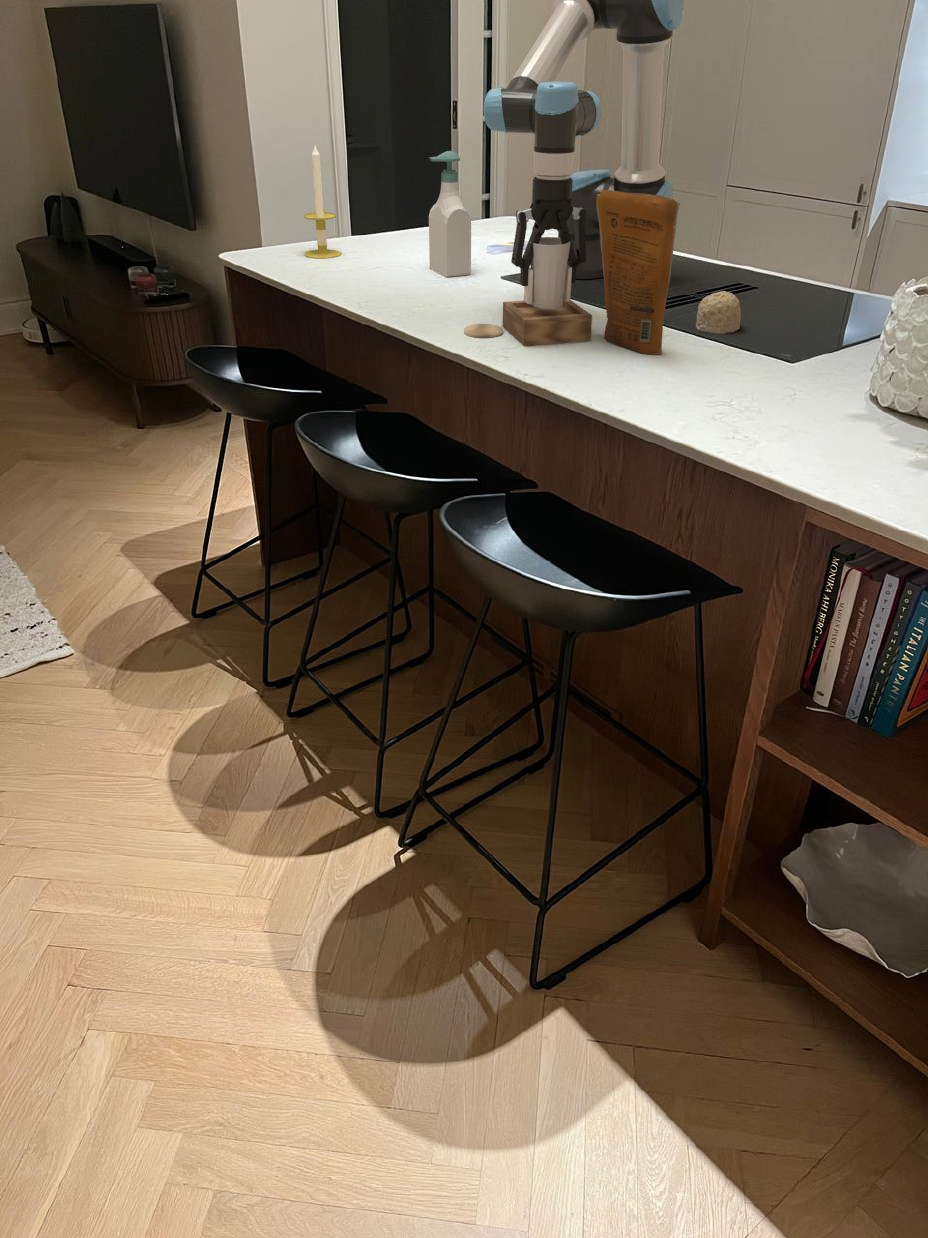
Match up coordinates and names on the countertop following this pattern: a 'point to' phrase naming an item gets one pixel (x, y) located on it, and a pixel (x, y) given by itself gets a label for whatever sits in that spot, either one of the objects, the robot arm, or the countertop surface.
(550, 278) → the cup
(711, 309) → the sponge
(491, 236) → the countertop surface
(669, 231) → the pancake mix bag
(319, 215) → the candle
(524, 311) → the wooden tray
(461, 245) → the soap bottle
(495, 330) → the coaster
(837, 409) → the countertop surface
